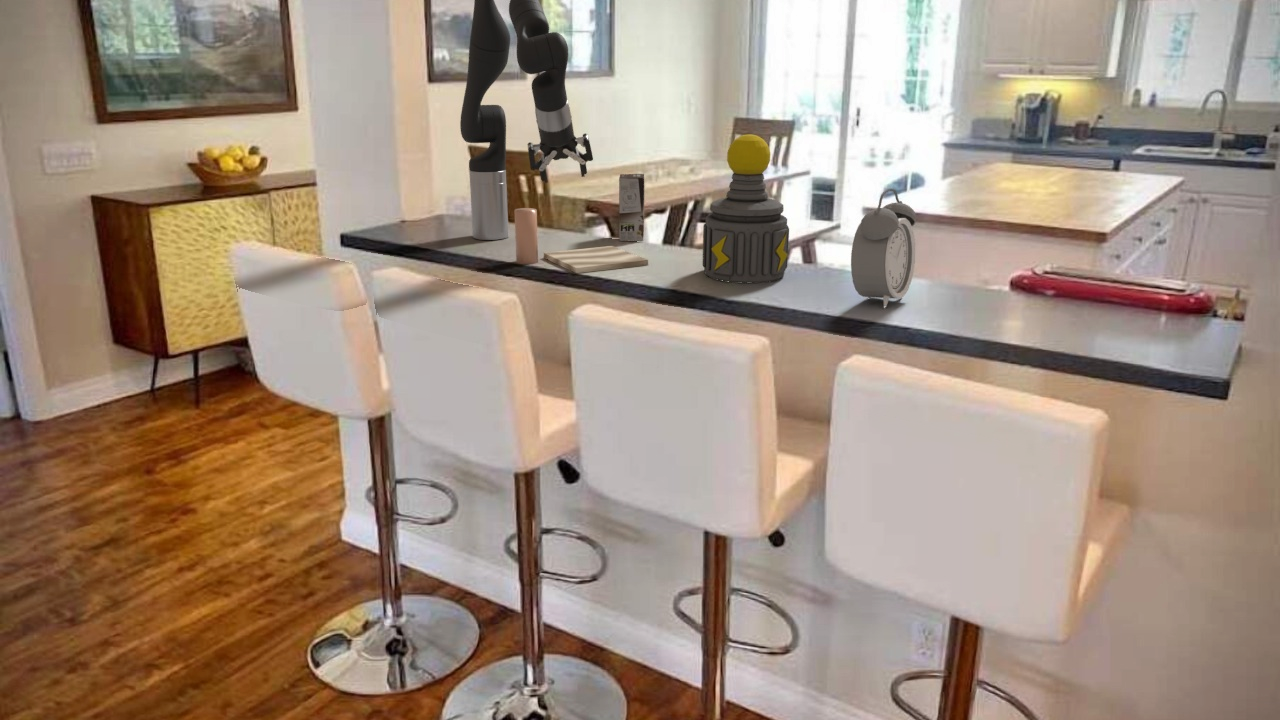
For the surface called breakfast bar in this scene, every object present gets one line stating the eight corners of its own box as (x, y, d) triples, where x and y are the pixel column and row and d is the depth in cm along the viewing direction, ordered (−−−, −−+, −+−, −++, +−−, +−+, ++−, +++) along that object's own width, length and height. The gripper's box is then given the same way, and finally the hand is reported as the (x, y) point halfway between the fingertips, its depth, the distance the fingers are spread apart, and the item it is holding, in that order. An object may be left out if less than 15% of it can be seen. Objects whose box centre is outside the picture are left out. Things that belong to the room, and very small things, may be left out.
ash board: (543, 257, 224) (543, 252, 224) (611, 250, 233) (611, 245, 232) (576, 273, 209) (576, 267, 209) (648, 264, 218) (648, 259, 217)
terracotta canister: (513, 260, 221) (511, 209, 217) (533, 258, 223) (531, 207, 220) (521, 265, 217) (519, 212, 213) (541, 262, 219) (540, 210, 216)
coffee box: (643, 241, 244) (644, 177, 239) (618, 241, 244) (618, 177, 239) (644, 234, 252) (644, 173, 247) (620, 234, 252) (620, 173, 247)
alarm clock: (886, 314, 178) (897, 196, 171) (842, 307, 183) (851, 192, 176) (915, 296, 191) (926, 185, 184) (874, 290, 196) (882, 182, 189)
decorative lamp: (803, 273, 210) (811, 133, 201) (757, 289, 196) (763, 140, 187) (732, 261, 222) (737, 128, 212) (683, 275, 208) (686, 134, 198)
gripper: (584, 104, 210) (592, 162, 223) (520, 114, 209) (532, 172, 222) (588, 124, 205) (596, 183, 218) (523, 135, 205) (535, 193, 217)
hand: (564, 177), depth 220 cm, fingers open, 8 cm apart
